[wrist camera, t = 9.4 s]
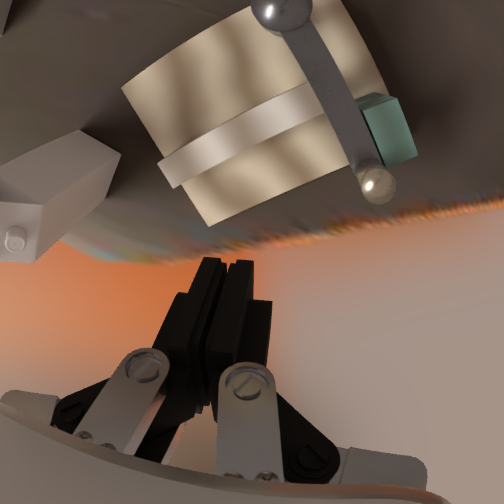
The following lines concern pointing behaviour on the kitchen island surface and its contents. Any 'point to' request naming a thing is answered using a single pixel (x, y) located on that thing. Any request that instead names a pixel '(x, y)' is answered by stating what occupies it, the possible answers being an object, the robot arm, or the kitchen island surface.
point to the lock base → (236, 88)
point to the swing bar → (328, 92)
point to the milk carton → (51, 193)
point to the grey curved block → (4, 13)
